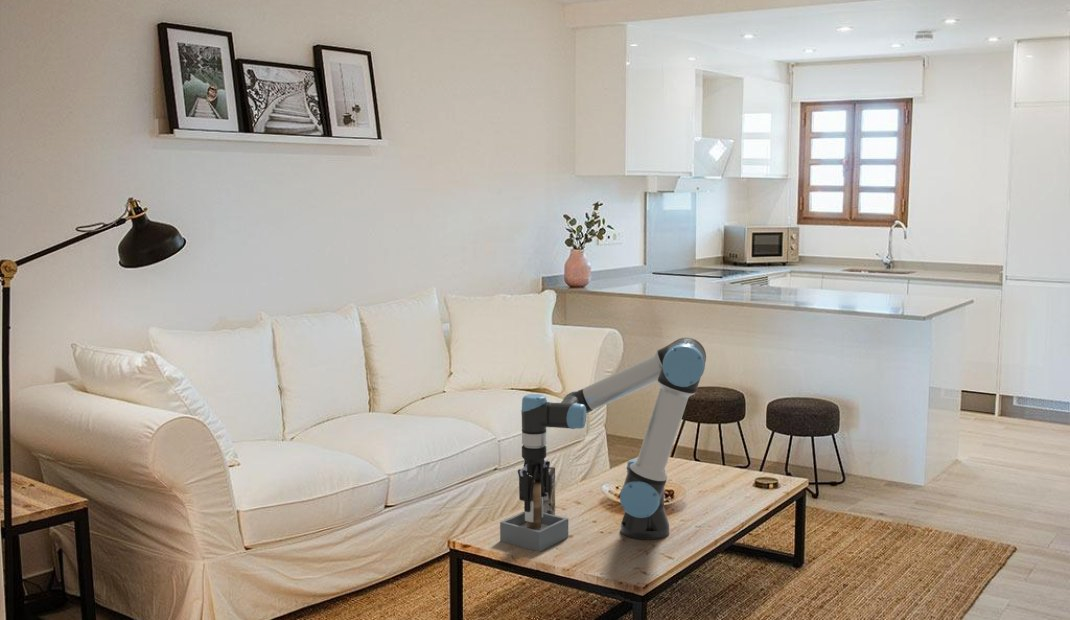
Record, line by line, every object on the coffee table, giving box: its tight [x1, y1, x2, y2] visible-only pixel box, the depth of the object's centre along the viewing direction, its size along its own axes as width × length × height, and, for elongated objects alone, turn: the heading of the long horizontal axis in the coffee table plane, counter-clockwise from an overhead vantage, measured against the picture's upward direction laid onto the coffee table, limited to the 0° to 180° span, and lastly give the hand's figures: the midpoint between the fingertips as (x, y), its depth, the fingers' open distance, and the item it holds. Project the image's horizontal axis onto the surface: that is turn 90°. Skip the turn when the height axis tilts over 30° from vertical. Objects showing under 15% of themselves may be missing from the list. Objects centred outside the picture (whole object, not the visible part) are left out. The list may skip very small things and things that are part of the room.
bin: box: [499, 510, 569, 552], centre depth 311 cm, size 15×15×6 cm
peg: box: [527, 481, 541, 530], centre depth 310 cm, size 4×4×14 cm
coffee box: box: [534, 466, 556, 515], centre depth 329 cm, size 9×6×16 cm
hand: (534, 518), depth 310 cm, fingers closed on peg, 4 cm apart
